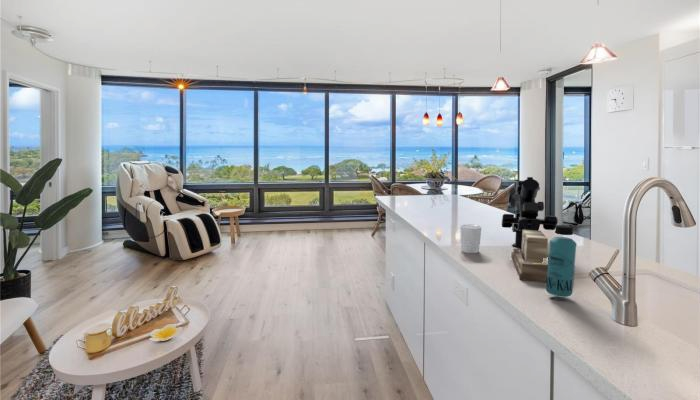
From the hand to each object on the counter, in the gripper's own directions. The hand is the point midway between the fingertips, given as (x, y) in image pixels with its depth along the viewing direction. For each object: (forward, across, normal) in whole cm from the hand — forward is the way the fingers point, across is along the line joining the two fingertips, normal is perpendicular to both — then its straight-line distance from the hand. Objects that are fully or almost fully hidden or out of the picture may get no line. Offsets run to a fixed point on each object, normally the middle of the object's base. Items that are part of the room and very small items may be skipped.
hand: (530, 240), depth 138 cm
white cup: (+2, -21, +8) cm, 22 cm away
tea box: (+9, 0, -2) cm, 10 cm away
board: (+14, 0, -4) cm, 14 cm away
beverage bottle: (+32, +2, -22) cm, 39 cm away
